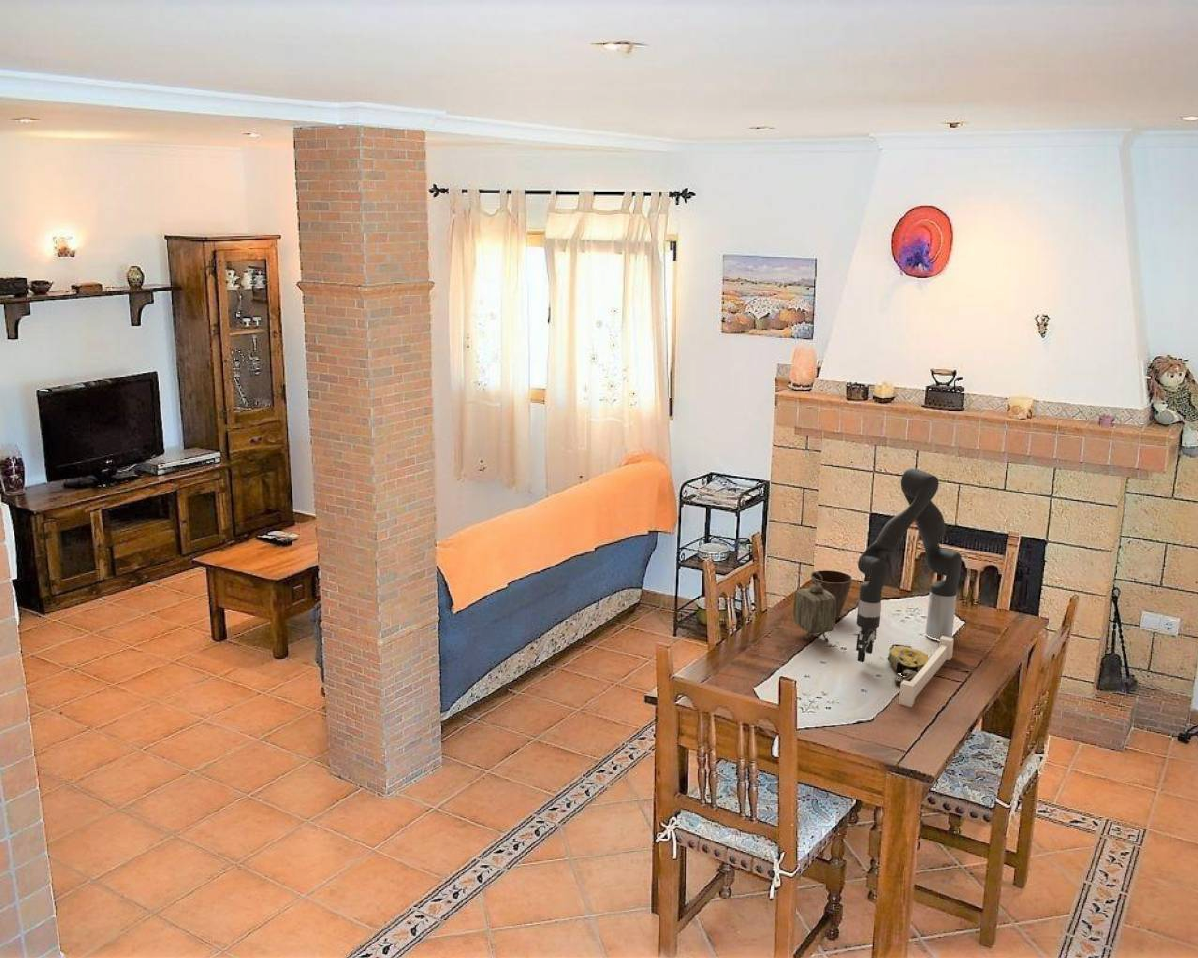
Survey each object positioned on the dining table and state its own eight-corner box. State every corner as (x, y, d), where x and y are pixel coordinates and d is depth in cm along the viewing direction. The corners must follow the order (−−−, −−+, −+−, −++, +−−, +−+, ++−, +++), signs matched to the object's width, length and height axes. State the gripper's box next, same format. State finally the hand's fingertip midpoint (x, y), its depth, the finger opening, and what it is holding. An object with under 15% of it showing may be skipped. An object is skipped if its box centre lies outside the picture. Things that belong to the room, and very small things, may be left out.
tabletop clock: (833, 643, 391) (838, 577, 385) (811, 646, 387) (816, 580, 381) (811, 629, 404) (816, 565, 398) (790, 632, 400) (794, 567, 394)
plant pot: (801, 610, 422) (804, 571, 418) (835, 607, 427) (839, 568, 423) (820, 624, 408) (823, 584, 405) (855, 621, 413) (859, 581, 409)
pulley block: (884, 667, 355) (892, 635, 383) (880, 683, 357) (888, 650, 384) (928, 680, 351) (933, 647, 379) (923, 696, 353) (928, 662, 381)
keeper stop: (940, 654, 383) (942, 635, 382) (951, 657, 381) (953, 638, 380) (898, 703, 344) (900, 683, 342) (911, 707, 342) (913, 686, 340)
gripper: (864, 604, 376) (860, 648, 380) (851, 616, 364) (847, 661, 368) (886, 608, 373) (882, 653, 376) (873, 621, 361) (869, 666, 365)
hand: (864, 657), depth 372 cm, fingers open, 8 cm apart
